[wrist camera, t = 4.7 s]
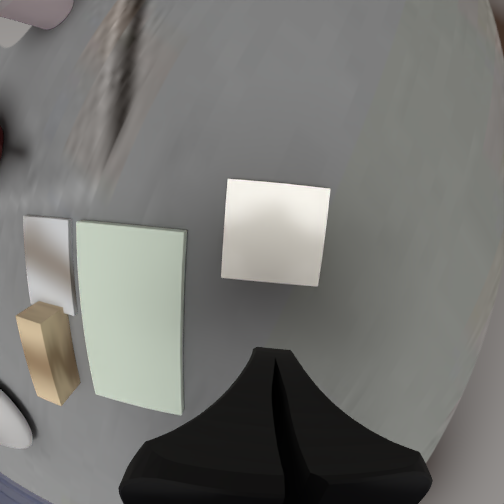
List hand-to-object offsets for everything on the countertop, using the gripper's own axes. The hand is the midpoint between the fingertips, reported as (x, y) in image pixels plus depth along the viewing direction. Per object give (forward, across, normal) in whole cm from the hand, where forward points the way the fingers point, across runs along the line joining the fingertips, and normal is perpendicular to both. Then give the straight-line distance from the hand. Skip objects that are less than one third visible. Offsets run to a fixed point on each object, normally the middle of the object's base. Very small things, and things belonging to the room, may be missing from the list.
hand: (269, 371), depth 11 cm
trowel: (+10, +17, +8) cm, 21 cm away
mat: (+10, +10, +4) cm, 14 cm away
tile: (+9, 0, 0) cm, 9 cm away
